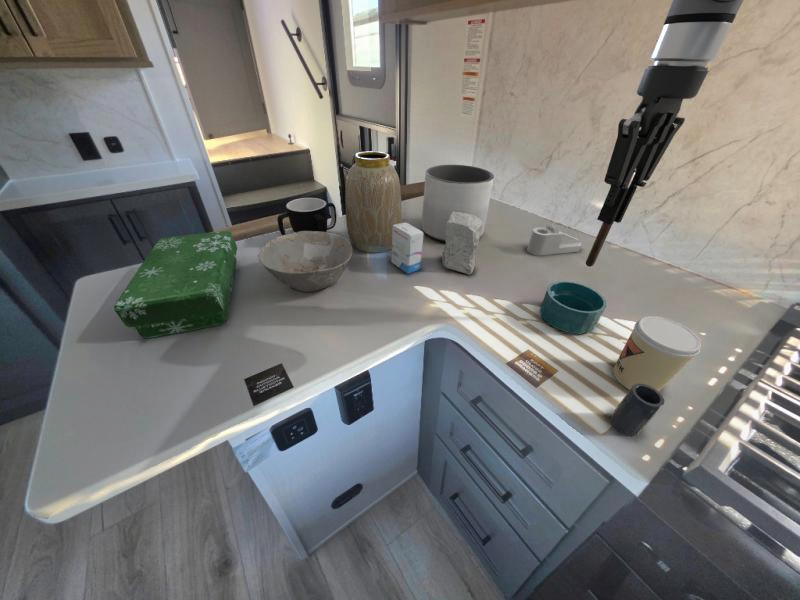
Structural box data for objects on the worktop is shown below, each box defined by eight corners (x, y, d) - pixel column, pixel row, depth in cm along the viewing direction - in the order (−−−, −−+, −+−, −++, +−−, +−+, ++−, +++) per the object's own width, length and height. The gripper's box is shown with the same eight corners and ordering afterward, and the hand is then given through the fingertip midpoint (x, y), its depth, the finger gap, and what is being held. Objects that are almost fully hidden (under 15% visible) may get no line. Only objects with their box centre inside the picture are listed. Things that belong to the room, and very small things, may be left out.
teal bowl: (606, 326, 73) (618, 304, 69) (569, 341, 68) (580, 319, 64) (563, 297, 81) (572, 276, 78) (528, 309, 77) (535, 288, 73)
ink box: (421, 269, 91) (424, 231, 84) (407, 274, 89) (409, 235, 82) (404, 257, 96) (405, 220, 89) (390, 262, 94) (391, 224, 87)
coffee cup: (611, 353, 66) (639, 308, 59) (665, 374, 61) (702, 328, 54) (604, 382, 60) (634, 336, 52) (663, 408, 55) (705, 361, 48)
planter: (413, 239, 107) (417, 178, 95) (429, 215, 124) (433, 161, 112) (479, 250, 102) (491, 186, 90) (486, 224, 119) (497, 168, 107)
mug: (300, 227, 112) (294, 193, 105) (343, 231, 110) (340, 197, 103) (277, 247, 100) (268, 210, 92) (325, 253, 97) (320, 216, 90)
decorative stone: (436, 270, 91) (442, 222, 82) (442, 255, 98) (448, 210, 89) (472, 276, 89) (481, 227, 80) (476, 261, 96) (485, 215, 87)
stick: (594, 267, 65) (640, 167, 53) (589, 268, 64) (634, 168, 53) (587, 263, 66) (631, 164, 54) (582, 265, 65) (625, 165, 54)
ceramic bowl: (337, 315, 74) (333, 279, 68) (249, 300, 77) (237, 264, 71) (366, 268, 91) (364, 236, 85) (293, 257, 95) (286, 226, 89)
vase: (406, 253, 99) (410, 161, 83) (351, 258, 95) (343, 163, 79) (394, 230, 112) (395, 148, 96) (345, 234, 109) (338, 149, 92)
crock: (644, 429, 52) (670, 400, 47) (628, 440, 50) (653, 410, 46) (620, 409, 55) (643, 379, 50) (604, 419, 53) (625, 389, 49)
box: (231, 329, 69) (216, 291, 63) (133, 345, 64) (108, 306, 58) (243, 259, 93) (233, 228, 87) (172, 268, 88) (157, 235, 82)
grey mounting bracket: (582, 251, 103) (591, 228, 98) (533, 256, 99) (540, 232, 95) (571, 243, 107) (579, 221, 102) (523, 247, 104) (530, 224, 99)
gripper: (679, 65, 50) (615, 208, 65) (620, 62, 45) (565, 219, 59) (735, 66, 45) (652, 222, 59) (676, 63, 40) (600, 235, 54)
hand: (608, 220), depth 59 cm, fingers closed on stick, 1 cm apart
